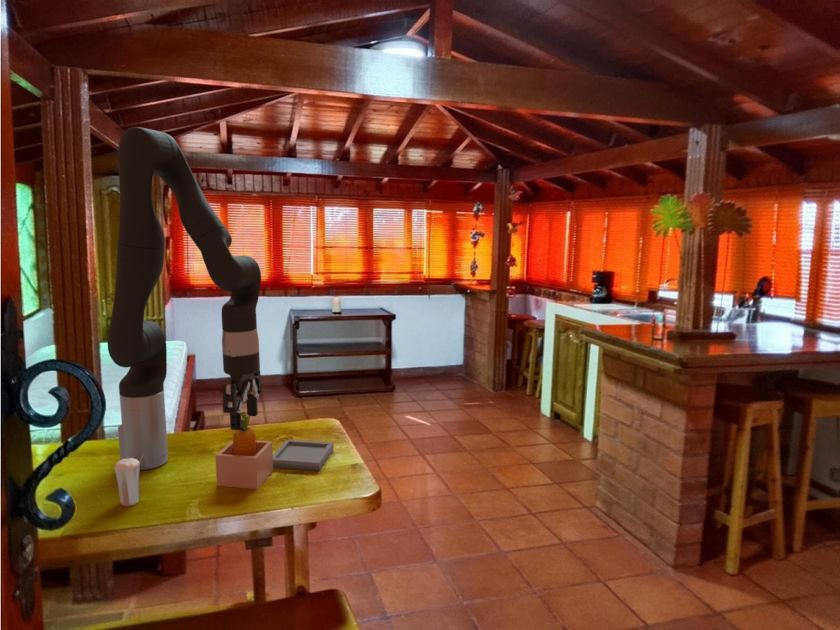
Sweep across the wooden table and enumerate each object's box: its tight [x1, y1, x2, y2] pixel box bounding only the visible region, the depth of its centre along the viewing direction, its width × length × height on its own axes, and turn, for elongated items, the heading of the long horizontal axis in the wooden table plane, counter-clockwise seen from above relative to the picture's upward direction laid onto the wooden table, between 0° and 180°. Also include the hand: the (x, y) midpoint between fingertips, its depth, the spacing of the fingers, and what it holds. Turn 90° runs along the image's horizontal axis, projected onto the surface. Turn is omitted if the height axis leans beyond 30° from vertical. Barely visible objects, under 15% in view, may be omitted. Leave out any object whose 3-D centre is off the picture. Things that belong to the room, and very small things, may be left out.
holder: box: [215, 439, 274, 490], centre depth 129 cm, size 9×9×7 cm
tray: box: [273, 439, 334, 472], centre depth 140 cm, size 12×12×2 cm
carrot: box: [232, 411, 257, 456], centre depth 129 cm, size 5×5×15 cm
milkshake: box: [114, 456, 143, 507], centre depth 117 cm, size 4×5×10 cm
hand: (244, 422), depth 128 cm, fingers open, 8 cm apart
